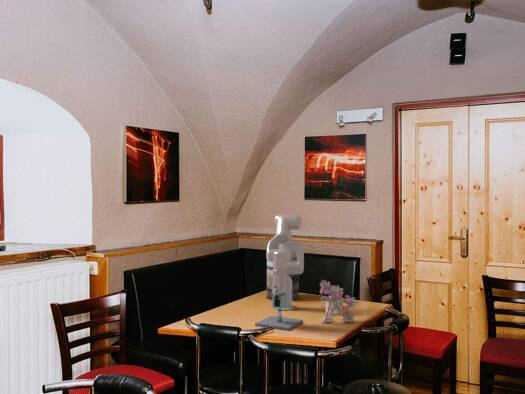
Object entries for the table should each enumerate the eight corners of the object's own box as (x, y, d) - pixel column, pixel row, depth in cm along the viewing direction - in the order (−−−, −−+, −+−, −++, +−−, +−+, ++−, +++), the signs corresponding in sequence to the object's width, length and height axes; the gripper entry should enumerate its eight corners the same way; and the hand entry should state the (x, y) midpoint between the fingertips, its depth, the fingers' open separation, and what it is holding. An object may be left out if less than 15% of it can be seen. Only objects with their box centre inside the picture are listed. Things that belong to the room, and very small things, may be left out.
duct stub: (278, 320, 286) (278, 308, 286) (282, 321, 285) (282, 308, 285) (275, 321, 284) (276, 309, 284) (280, 322, 282) (280, 309, 282)
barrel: (300, 301, 347) (300, 257, 347) (267, 301, 347) (267, 257, 347) (297, 294, 370) (297, 253, 369) (266, 294, 369) (266, 253, 369)
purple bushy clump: (340, 312, 316) (340, 293, 316) (339, 315, 307) (340, 296, 307) (321, 311, 319) (321, 292, 318) (319, 314, 310) (320, 295, 310)
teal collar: (276, 305, 288) (277, 293, 288) (286, 306, 286) (286, 294, 286) (272, 307, 283) (272, 294, 283) (282, 308, 280) (282, 296, 280)
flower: (344, 327, 272) (357, 283, 280) (307, 317, 284) (320, 275, 292) (355, 336, 288) (367, 294, 296) (319, 326, 300) (331, 286, 308)
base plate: (271, 318, 298) (271, 315, 298) (302, 322, 289) (302, 319, 289) (255, 326, 280) (255, 323, 280) (288, 330, 271) (288, 327, 271)
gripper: (280, 270, 294) (279, 302, 294) (267, 274, 278) (266, 307, 278) (292, 271, 290) (291, 303, 290) (279, 275, 275) (279, 309, 275)
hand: (279, 305), depth 284 cm, fingers closed on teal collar, 5 cm apart
